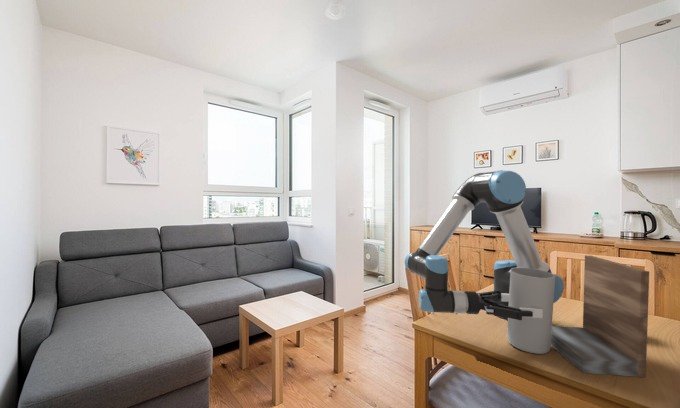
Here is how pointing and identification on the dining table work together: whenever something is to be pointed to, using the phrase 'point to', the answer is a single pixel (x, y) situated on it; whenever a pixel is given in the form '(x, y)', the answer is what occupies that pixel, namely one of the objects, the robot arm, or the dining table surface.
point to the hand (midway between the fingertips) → (530, 305)
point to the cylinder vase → (531, 293)
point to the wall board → (609, 321)
